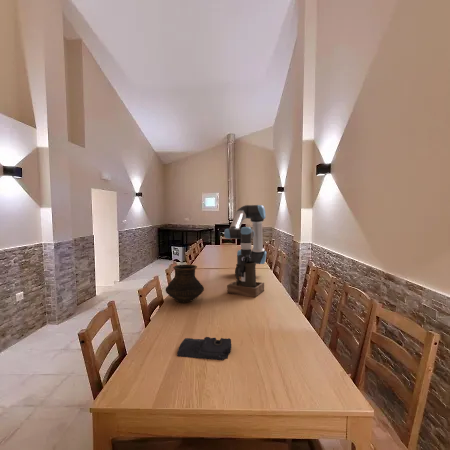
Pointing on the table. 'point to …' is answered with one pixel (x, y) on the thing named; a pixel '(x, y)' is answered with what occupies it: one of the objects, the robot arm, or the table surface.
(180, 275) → the ceramic pot
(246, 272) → the beer stein
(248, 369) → the table surface
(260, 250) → the robot arm
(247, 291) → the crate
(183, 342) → the dark grey flat piece
